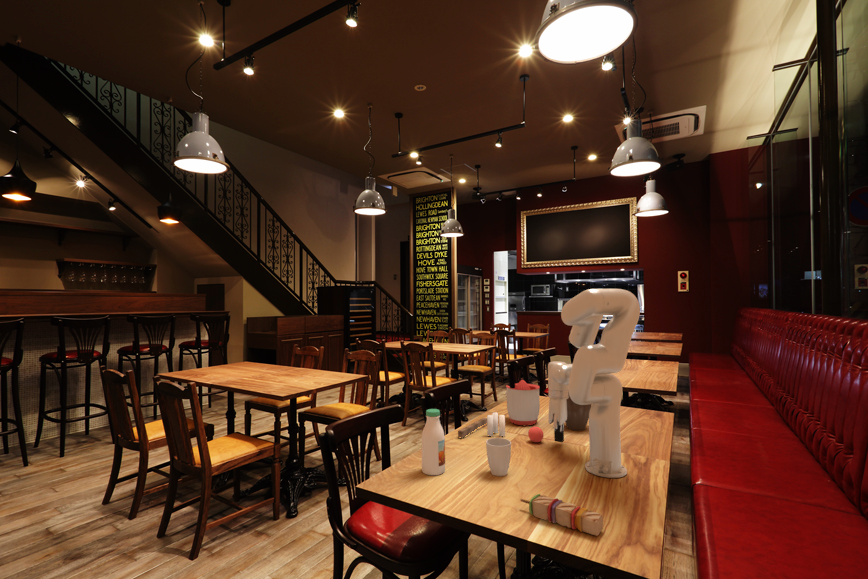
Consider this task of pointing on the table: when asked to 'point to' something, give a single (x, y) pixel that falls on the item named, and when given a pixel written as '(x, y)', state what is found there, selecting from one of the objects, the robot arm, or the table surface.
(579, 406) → the plant pot
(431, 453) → the milk bottle
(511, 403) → the citrus juicer
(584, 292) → the robot arm
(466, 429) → the brown textured bar
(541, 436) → the ball
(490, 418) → the pin
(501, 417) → the front pin
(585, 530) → the skewer
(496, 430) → the pin
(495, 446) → the cup
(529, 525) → the table surface
